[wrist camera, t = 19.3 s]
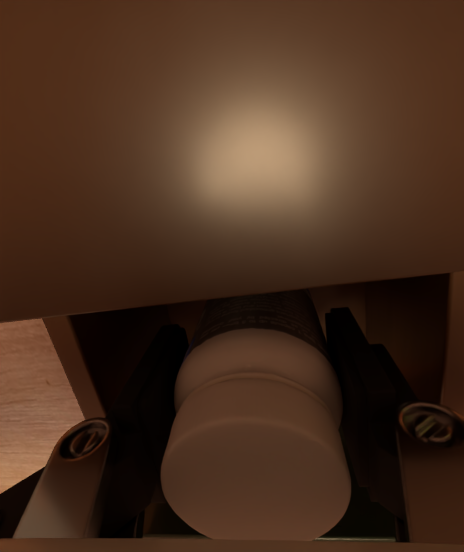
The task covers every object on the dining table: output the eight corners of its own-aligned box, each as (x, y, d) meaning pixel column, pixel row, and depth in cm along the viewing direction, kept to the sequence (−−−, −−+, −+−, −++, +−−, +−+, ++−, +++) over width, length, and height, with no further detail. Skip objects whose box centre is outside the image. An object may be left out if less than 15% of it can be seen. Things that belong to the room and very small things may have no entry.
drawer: (389, 465, 19) (466, 656, 12) (195, 469, 21) (157, 636, 13) (392, 124, 12) (570, 74, 5) (111, 176, 14) (-49, 193, 7)
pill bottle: (194, 273, 14) (101, 423, 6) (298, 246, 13) (350, 380, 5) (226, 359, 15) (186, 569, 7) (321, 340, 14) (389, 558, 6)
